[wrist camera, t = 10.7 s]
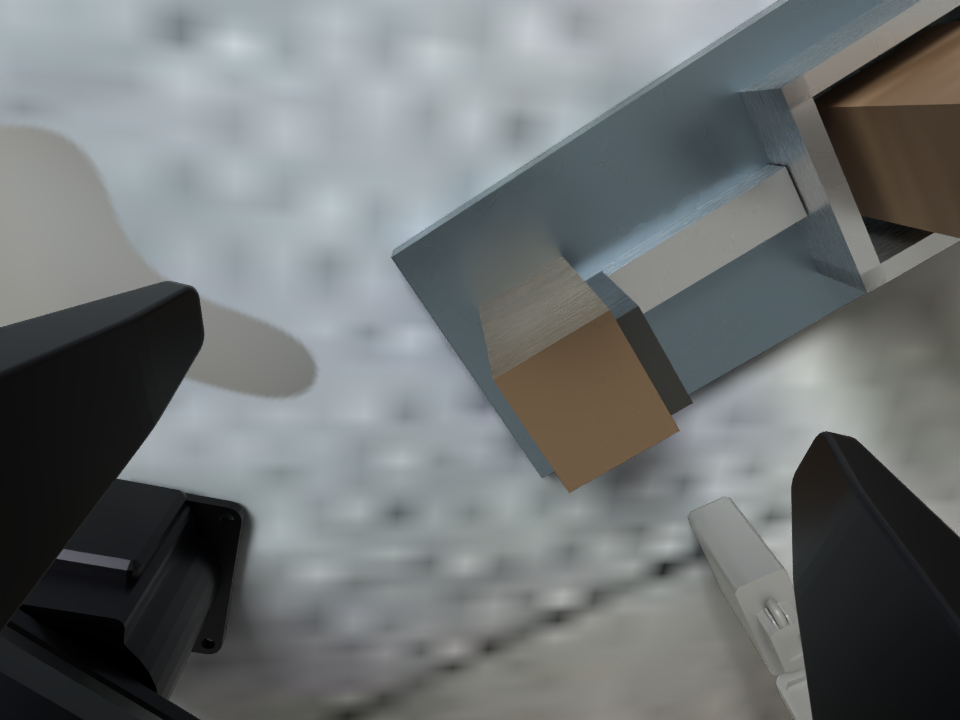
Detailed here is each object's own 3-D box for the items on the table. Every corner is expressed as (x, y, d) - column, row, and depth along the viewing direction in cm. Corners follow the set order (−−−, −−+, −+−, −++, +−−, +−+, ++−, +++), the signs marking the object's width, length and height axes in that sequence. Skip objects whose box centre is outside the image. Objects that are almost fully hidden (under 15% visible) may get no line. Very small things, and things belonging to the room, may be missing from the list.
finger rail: (537, 461, 24) (576, 596, 17) (393, 250, 21) (372, 312, 14) (1009, 189, 22) (1268, 221, 15) (919, -91, 19) (1189, -209, 12)
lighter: (685, 514, 25) (791, 683, 18) (729, 494, 25) (854, 657, 17) (746, 644, 27) (862, 843, 20) (786, 628, 27) (918, 822, 20)
